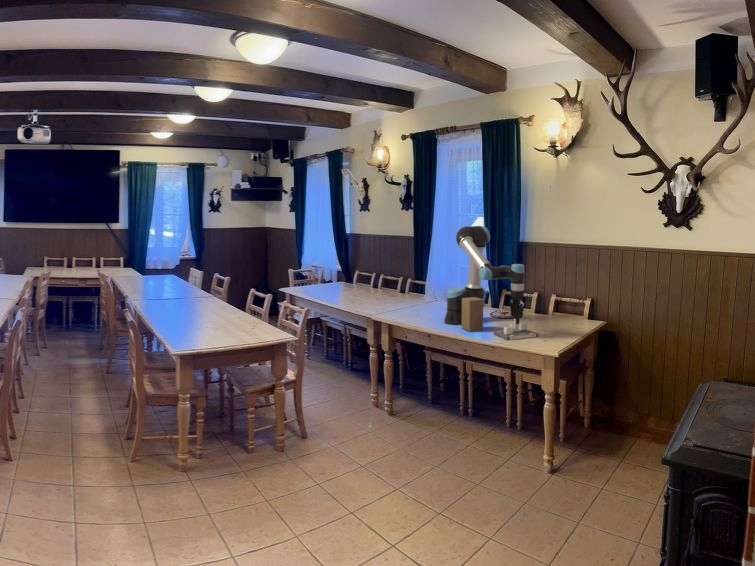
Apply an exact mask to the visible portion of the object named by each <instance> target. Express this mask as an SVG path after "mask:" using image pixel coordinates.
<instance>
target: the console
mask: <svg viewBox="0 0 755 566" xmlns="http://www.w3.org/2000/svg"><path fill="white" fill-rule="evenodd" d="M493 336H495V337H497V338H501V339H503V340H505V341H513V340H519V339H520V340H521V339H530V338H538V337H539V333H538V332H535V331H533V330H530V329H527V330H519V329H518V331H516V332H512V334H507V335H506V334H504V330H498V331H493Z"/></svg>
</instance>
